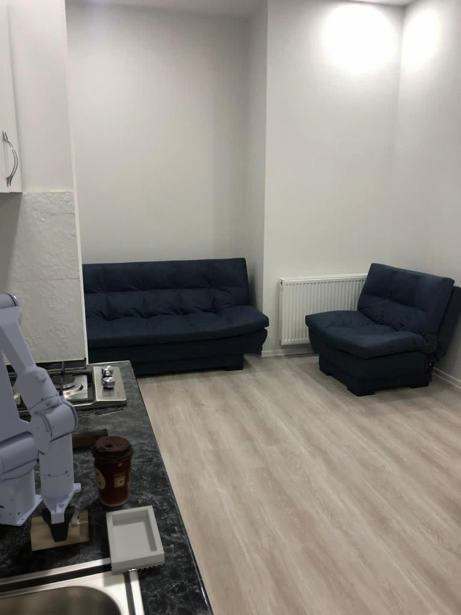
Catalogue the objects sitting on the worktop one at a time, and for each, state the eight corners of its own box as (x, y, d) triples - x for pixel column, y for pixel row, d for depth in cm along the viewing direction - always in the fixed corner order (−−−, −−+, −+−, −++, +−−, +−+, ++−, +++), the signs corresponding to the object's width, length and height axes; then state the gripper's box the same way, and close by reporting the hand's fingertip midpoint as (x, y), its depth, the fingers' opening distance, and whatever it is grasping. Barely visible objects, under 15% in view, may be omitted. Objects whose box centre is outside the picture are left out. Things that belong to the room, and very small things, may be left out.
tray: (164, 564, 90) (164, 553, 89) (112, 575, 87) (111, 563, 86) (151, 515, 103) (151, 505, 102) (106, 523, 100) (106, 512, 99)
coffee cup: (92, 512, 103) (90, 455, 100) (92, 489, 111) (89, 435, 107) (135, 506, 105) (134, 450, 102) (132, 484, 113) (131, 431, 110)
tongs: (88, 526, 99) (87, 506, 98) (88, 541, 95) (88, 521, 94) (33, 535, 96) (31, 515, 95) (31, 551, 92) (30, 530, 91)
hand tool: (107, 439, 132) (107, 423, 131) (109, 446, 129) (108, 430, 127) (30, 450, 126) (29, 433, 125) (29, 458, 123) (28, 440, 121)
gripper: (80, 487, 86) (83, 554, 89) (78, 445, 100) (81, 505, 103) (36, 493, 84) (41, 562, 87) (40, 449, 97) (44, 511, 101)
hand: (60, 532), depth 95 cm, fingers closed on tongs, 4 cm apart
